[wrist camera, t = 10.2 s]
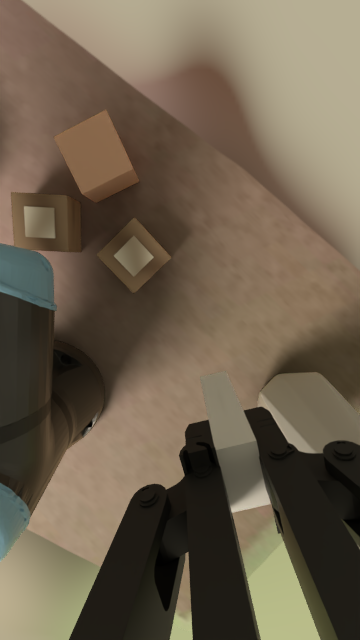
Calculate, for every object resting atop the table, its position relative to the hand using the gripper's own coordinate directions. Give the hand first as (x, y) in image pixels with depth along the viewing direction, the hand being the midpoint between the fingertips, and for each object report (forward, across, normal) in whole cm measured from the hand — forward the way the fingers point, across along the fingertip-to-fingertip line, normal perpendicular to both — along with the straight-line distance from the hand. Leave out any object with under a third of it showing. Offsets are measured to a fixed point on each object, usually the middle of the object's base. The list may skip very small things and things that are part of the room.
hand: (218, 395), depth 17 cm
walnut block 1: (+25, -14, +15) cm, 32 cm away
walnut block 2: (+25, -5, +9) cm, 27 cm away
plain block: (+25, -6, +20) cm, 32 cm away
